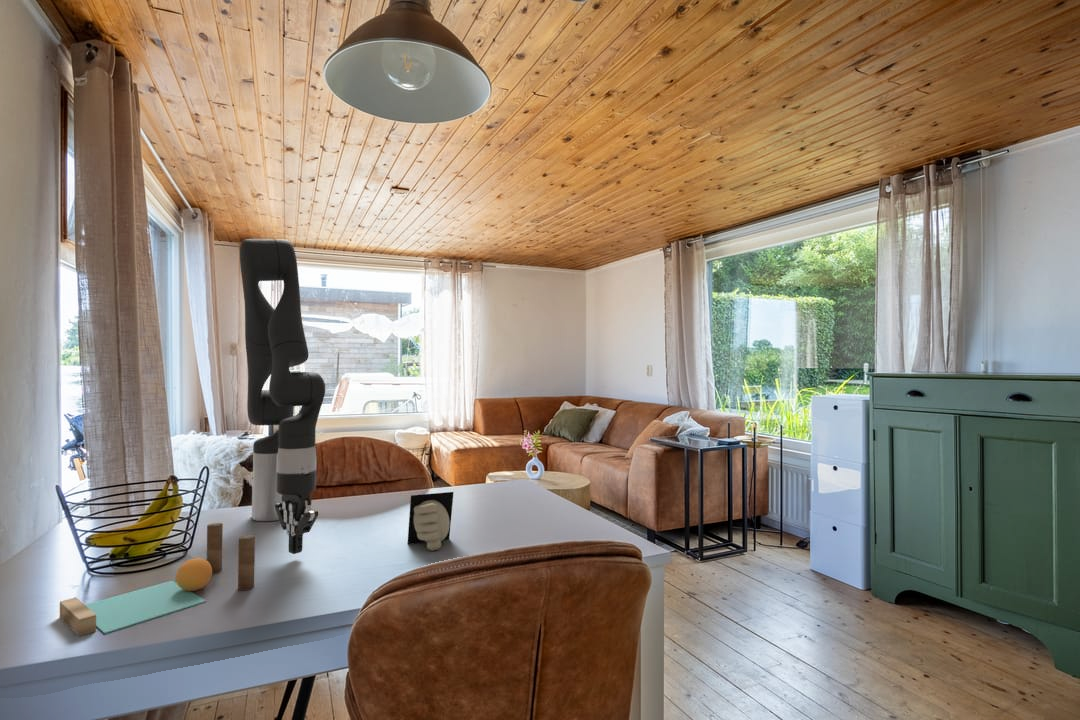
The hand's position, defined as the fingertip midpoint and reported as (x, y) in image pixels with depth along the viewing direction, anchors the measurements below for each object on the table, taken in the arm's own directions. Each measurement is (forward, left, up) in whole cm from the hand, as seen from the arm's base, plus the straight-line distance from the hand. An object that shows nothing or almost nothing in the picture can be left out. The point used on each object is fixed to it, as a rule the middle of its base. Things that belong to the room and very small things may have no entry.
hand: (295, 552), depth 114 cm
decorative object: (+16, +23, -2) cm, 28 cm away
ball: (0, -19, +1) cm, 19 cm away
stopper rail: (0, -35, -2) cm, 36 cm away
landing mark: (0, -27, -2) cm, 27 cm away
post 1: (-6, -13, -2) cm, 15 cm away
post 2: (+6, -13, -2) cm, 15 cm away
